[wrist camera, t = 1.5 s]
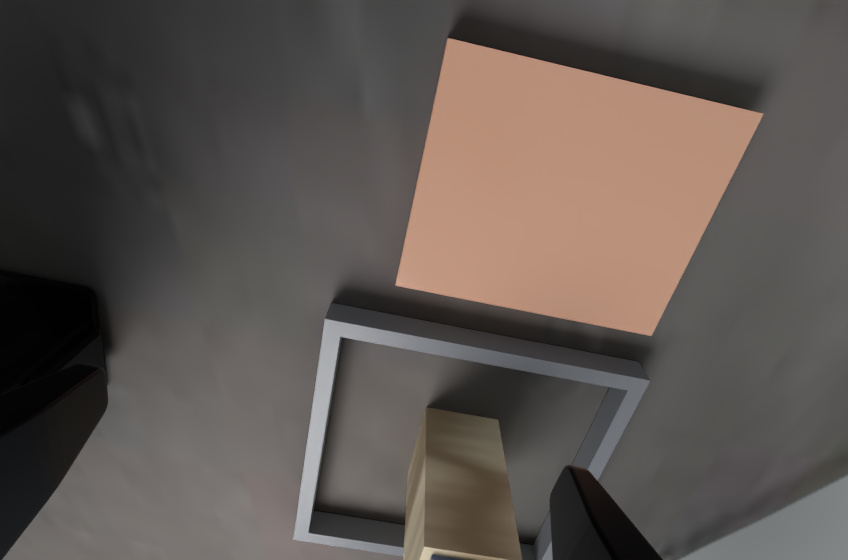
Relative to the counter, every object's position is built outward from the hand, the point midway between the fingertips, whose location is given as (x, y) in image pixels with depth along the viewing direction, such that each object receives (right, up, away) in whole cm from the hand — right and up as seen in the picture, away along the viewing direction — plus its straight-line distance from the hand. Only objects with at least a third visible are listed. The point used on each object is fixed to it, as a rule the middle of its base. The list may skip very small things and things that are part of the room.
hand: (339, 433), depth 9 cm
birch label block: (+3, -6, +18) cm, 19 cm away
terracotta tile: (+7, +6, +11) cm, 15 cm away
